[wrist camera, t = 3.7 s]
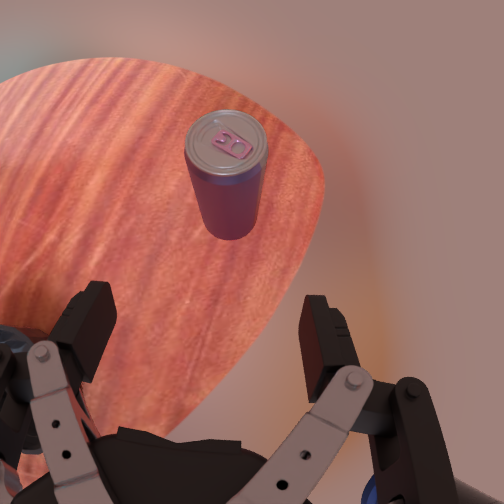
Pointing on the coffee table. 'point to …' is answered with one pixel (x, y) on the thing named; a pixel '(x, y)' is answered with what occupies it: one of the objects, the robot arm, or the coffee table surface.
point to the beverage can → (227, 170)
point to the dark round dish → (18, 342)
